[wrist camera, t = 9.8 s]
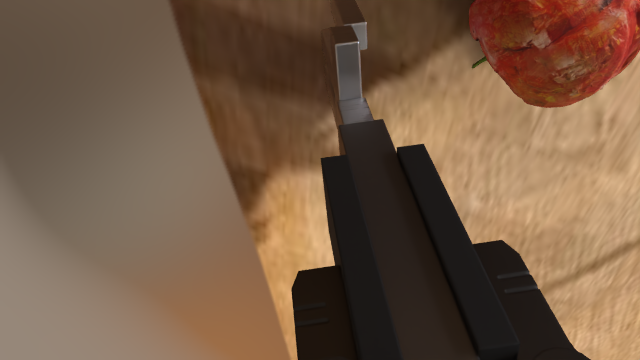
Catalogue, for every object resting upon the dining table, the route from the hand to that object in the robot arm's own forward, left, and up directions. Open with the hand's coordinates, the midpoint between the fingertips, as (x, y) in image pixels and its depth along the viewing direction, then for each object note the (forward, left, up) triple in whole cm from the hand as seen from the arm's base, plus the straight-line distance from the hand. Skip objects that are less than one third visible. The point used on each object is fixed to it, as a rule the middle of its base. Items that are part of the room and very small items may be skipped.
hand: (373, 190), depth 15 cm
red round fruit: (0, +10, -13) cm, 16 cm away
